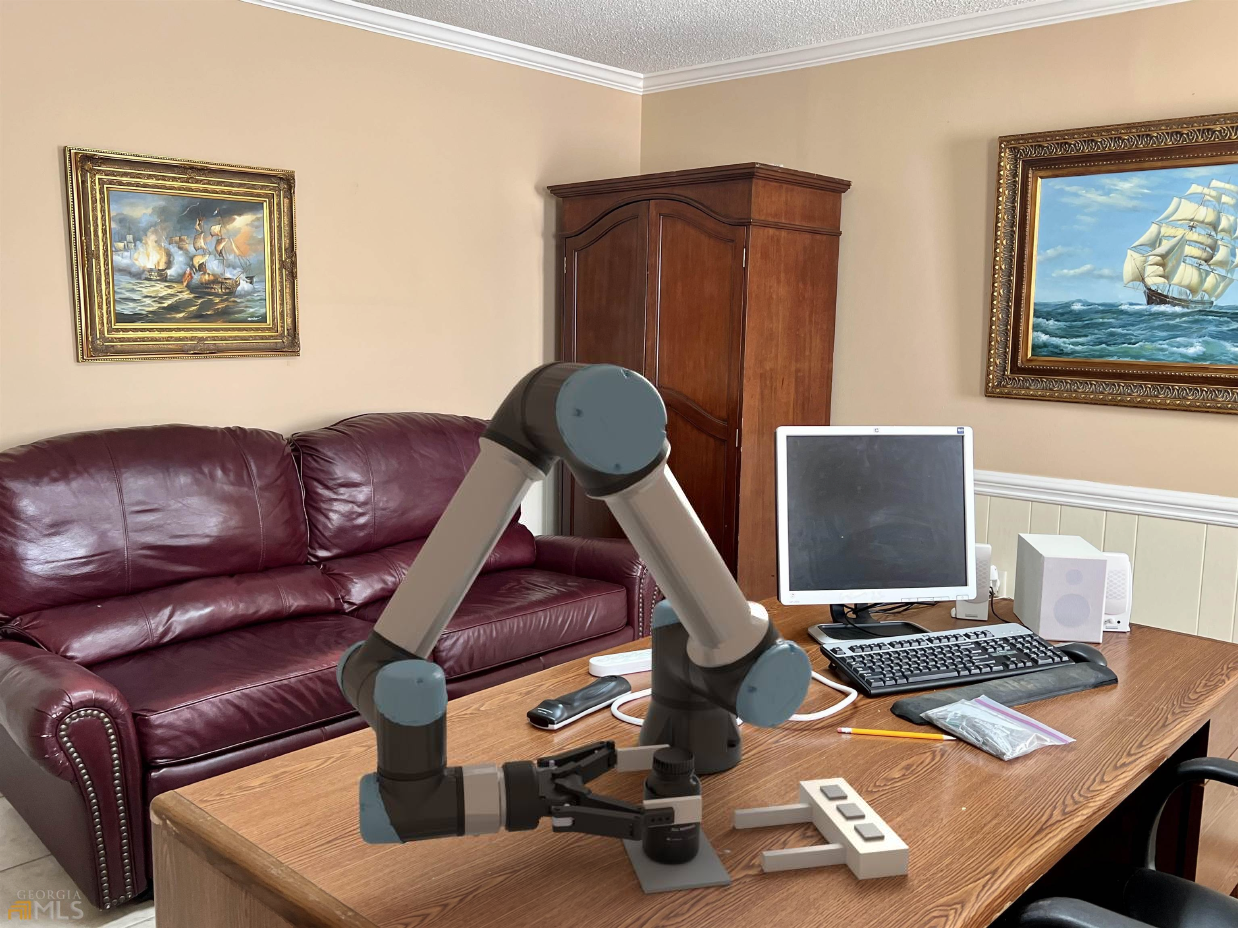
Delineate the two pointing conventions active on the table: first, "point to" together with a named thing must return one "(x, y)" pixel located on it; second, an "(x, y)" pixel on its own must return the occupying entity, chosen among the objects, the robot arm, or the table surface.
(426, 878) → the table surface
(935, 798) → the table surface
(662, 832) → the supplement bottle
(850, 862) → the power strip dock
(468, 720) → the table surface
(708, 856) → the rubber mat
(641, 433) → the robot arm
